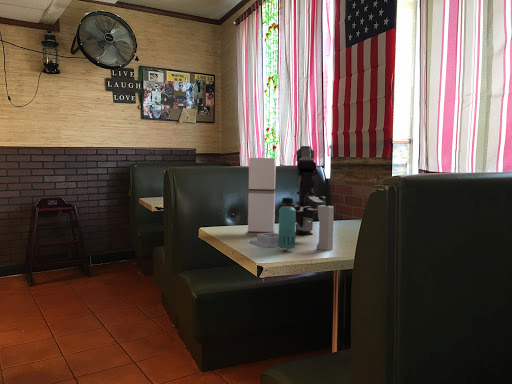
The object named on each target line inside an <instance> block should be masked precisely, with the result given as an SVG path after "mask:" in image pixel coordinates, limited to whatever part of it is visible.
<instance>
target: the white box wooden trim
mask: <svg viewBox="0 0 512 384" xmlns="http://www.w3.org/2000/svg"><path fill="white" fill-rule="evenodd" d="M276 166H277V159H276V158H275V157H248V199H247V201H248V203H247V204H248V206H247V209H248V210H247V237H248V236H249V237H257V234H262V233H272V232H274V233H275V221H276V220H275V214H276V213H275V212H276V211H275V209H276V208H275V207H276V175H277V174H276V172H277V171H276V169H277V167H276Z"/></svg>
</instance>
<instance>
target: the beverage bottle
mask: <svg viewBox="0 0 512 384" xmlns="http://www.w3.org/2000/svg"><path fill="white" fill-rule="evenodd" d="M293 203H294V198H293V197H282V198H281V204H282V205H283V204H284V205H285V204H293ZM278 214H279V215H278V232H277V233H278V234H279V240H278V248H279V249H284V250H292V249H294V248H295V246H296V234H295V233H296V224H297V221H295V220H296V216H295V215H296V210H295V208H294V207H289V206H281V207H280V208H279V209H278Z"/></svg>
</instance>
